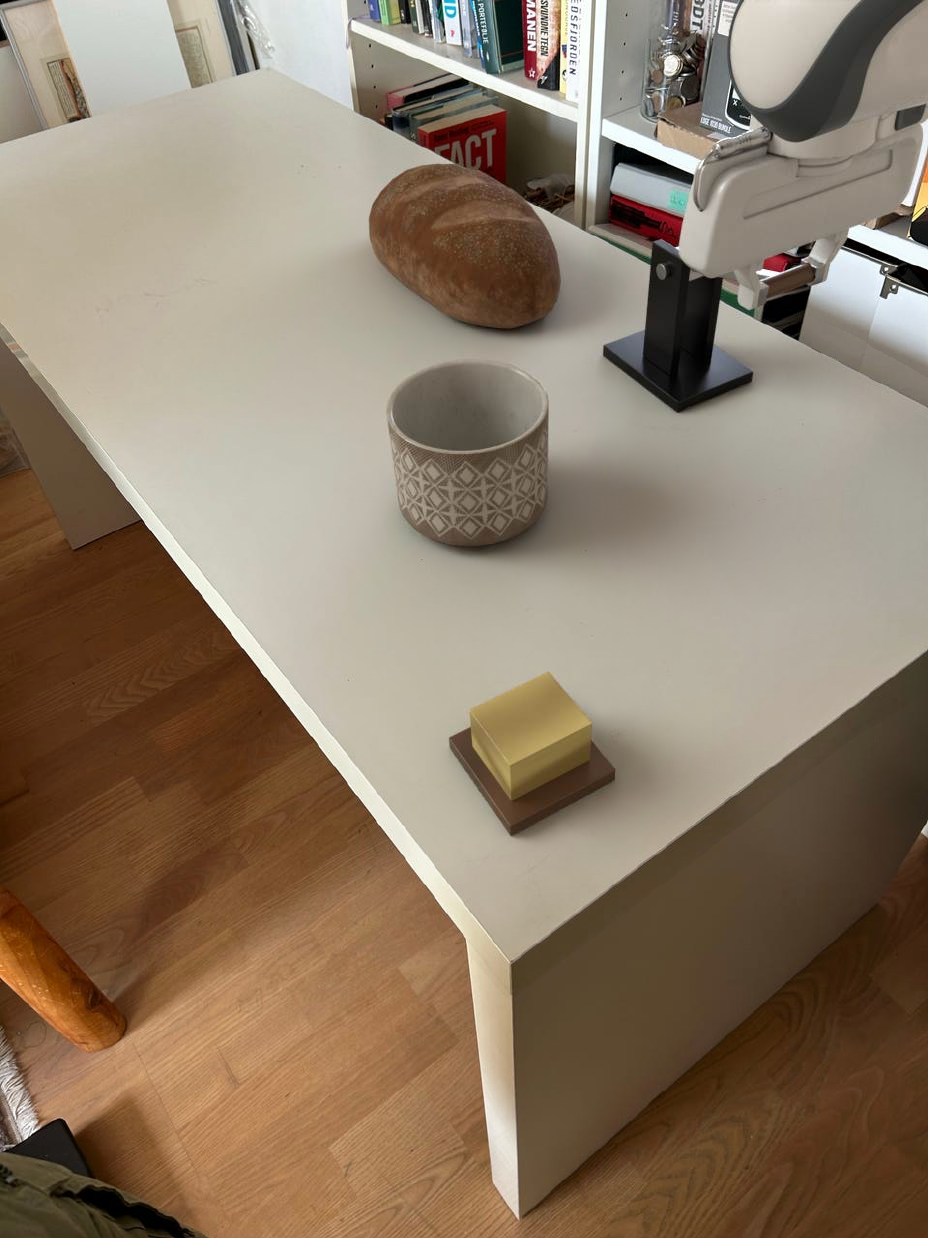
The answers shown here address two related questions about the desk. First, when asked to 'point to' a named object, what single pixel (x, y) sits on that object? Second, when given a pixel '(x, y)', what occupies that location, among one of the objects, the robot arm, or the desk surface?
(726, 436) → the desk surface
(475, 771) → the butter
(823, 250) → the robot arm
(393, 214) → the bread
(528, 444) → the planter
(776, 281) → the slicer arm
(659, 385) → the slicer
